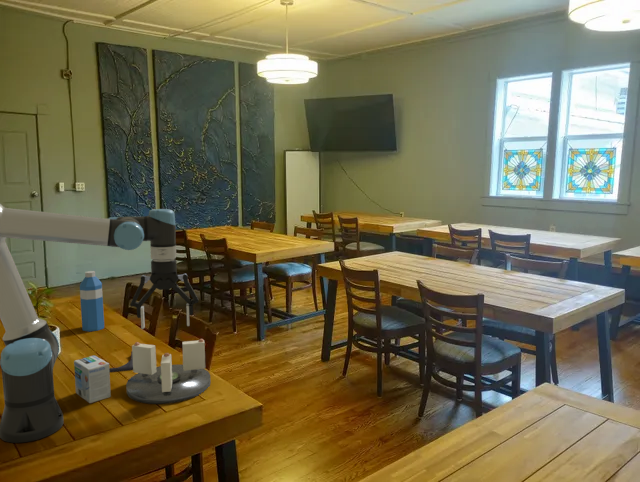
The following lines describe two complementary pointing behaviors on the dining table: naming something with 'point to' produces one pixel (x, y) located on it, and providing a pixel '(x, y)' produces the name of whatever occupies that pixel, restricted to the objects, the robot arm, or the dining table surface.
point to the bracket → (124, 366)
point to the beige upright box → (193, 355)
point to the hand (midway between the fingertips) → (165, 326)
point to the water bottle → (91, 303)
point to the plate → (182, 388)
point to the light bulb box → (92, 378)
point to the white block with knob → (166, 372)
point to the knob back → (144, 359)
